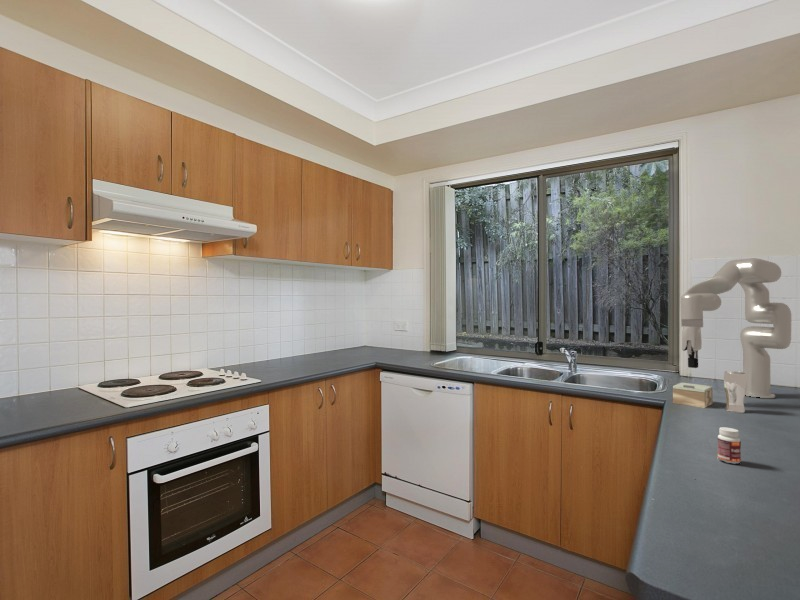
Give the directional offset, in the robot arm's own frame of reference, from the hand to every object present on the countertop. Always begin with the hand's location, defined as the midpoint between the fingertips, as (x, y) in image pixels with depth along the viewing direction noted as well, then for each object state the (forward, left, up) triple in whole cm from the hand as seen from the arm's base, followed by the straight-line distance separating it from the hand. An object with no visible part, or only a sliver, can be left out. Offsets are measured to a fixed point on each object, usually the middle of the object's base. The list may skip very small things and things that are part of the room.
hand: (693, 367), depth 174 cm
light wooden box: (0, 0, -15) cm, 15 cm away
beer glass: (+2, +14, -15) cm, 21 cm away
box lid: (0, 0, -9) cm, 9 cm away
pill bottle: (+71, +25, -15) cm, 77 cm away
